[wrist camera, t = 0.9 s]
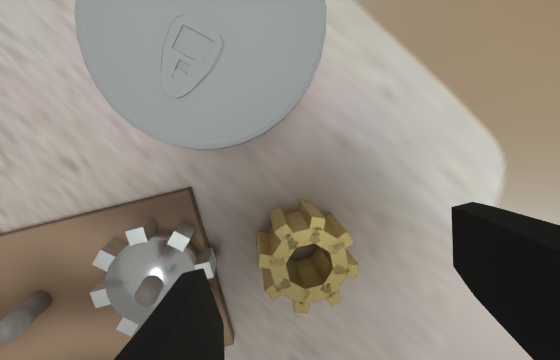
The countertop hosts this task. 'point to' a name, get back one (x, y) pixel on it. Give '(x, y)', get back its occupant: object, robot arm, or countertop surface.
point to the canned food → (202, 64)
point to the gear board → (80, 281)
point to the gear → (146, 267)
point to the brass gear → (311, 271)
